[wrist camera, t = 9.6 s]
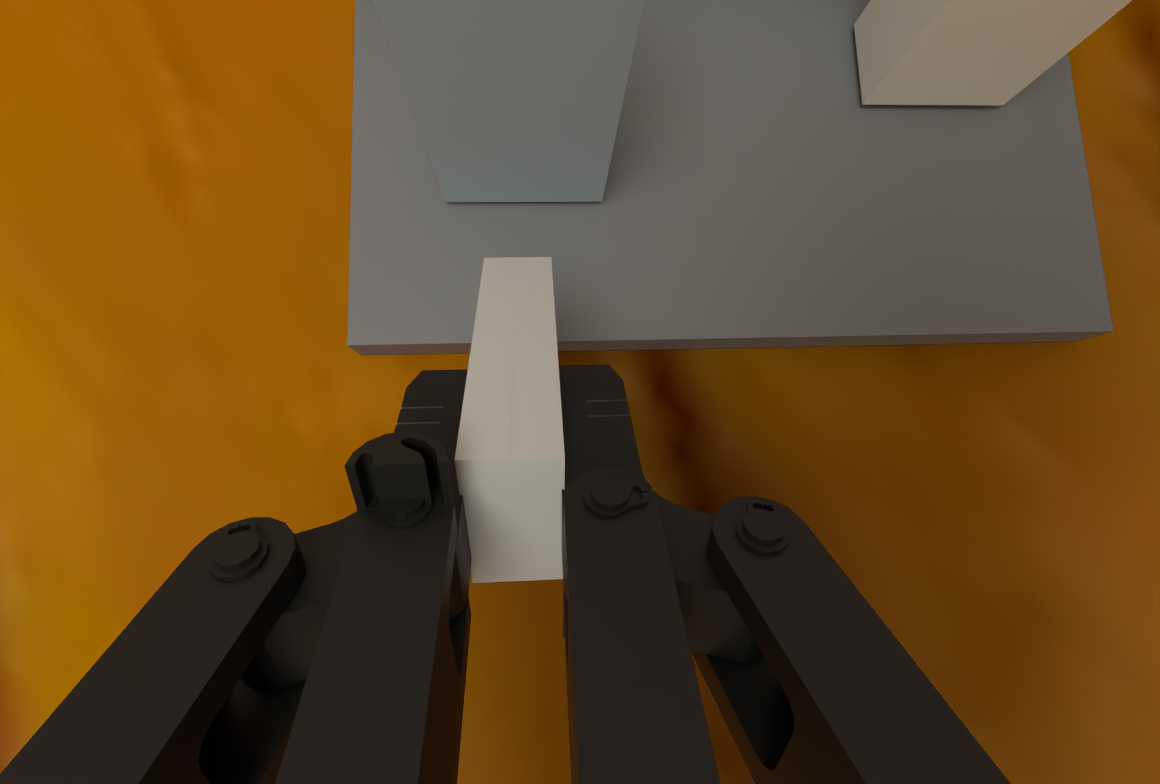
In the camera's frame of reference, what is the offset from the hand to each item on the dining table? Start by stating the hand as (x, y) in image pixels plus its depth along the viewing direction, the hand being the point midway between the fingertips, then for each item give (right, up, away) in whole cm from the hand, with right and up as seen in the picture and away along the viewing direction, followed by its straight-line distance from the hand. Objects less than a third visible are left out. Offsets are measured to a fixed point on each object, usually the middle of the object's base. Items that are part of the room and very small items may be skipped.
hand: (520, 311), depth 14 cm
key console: (+6, +8, +8) cm, 13 cm away
